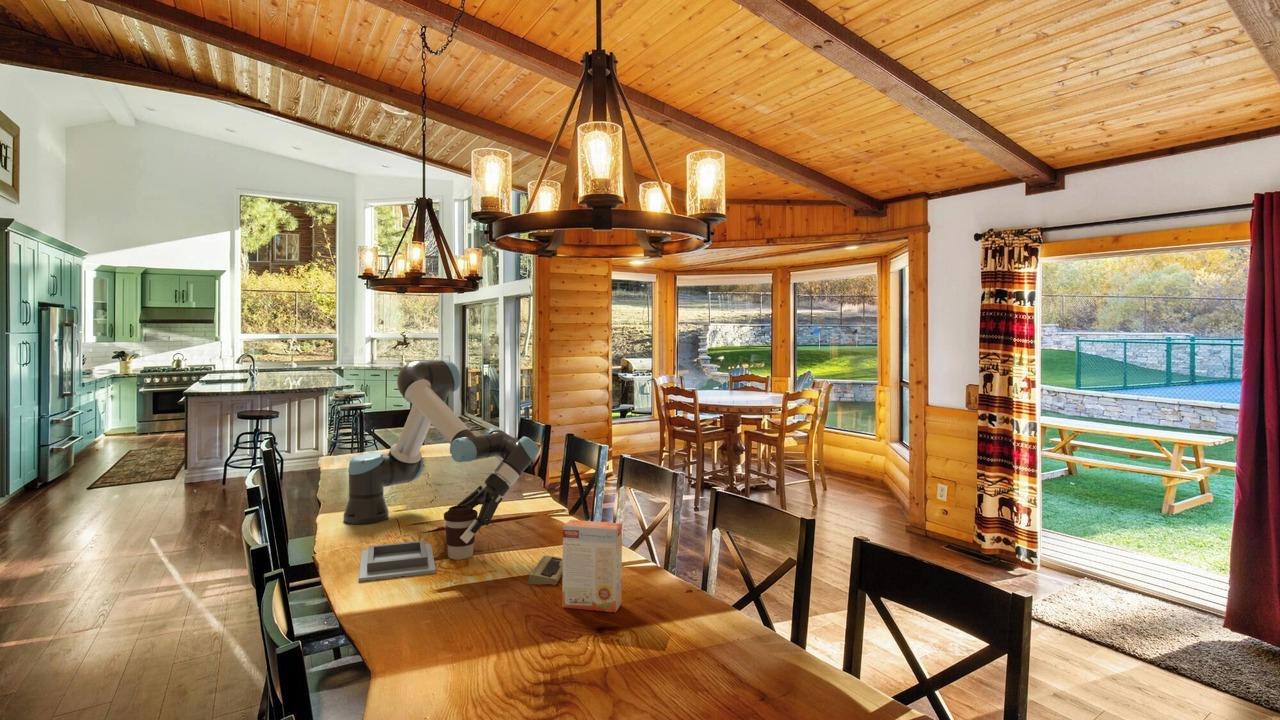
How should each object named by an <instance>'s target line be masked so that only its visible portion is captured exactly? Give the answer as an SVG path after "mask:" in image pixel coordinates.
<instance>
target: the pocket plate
mask: <svg viewBox="0 0 1280 720" xmlns="http://www.w3.org/2000/svg"><path fill="white" fill-rule="evenodd" d="M436 568H437V567H436V565H435V559H434V554H433V548H432V544H431V543H426V540H424V539H423V540H414V541H405V542H393V543H392V542H391V543H384V544H374V545H372V544H371V545H368V549H364V550H361V557H360V565H359V573H358V582H359V581H363V582H366V581H365V580H372V581H377V580H376V579H380V580H387V579H388V578H389V579H394V578H393V577H398V578H402V577H401V576H406V577H414V576H421V575H428V574H429V575H430V574H436V573H437V569H436Z"/></svg>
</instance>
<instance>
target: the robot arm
mask: <svg viewBox="0 0 1280 720" xmlns="http://www.w3.org/2000/svg"><path fill="white" fill-rule="evenodd" d="M396 384H397V388H398V391H399V393H400V394H401V396H402V397H403V399H404V400H405V401H406V402H408V403H409V404H412V406H411V409H410V412H409V414H408V415H407V419H406V421H405V423H404V426H403V429H402V431H401V433H400V436H399V439H398V440H397V443H394V444H392V445H391V447H390V449H389V451H388V453H387V454H383V453H382V452H379V451H378V452H374V451H373V452H367V453H366V452H364V453H361V454H357V455H356V456H354V457H351V459H350V460H349V463H348V470H347V471H348V501H347V504H346V507H345V509H344V512H343V522H344V521H345V522H344V523H346V522H347V524H349V523H352V524H351V525H367V524H368V523H369V524H375V523H380V522H382V520H383V521H385V520H387V519H389V517H388V516H389V512H390V511H389V508H388V505H387V502H386V500H385V497H384V496H385V495H384V488H385V487H390V486H391V487H392V486H395V485H401V484H406V483H410V482H413V481H415V480H417V479H418V478H419V477H421V475H422V473H423V470H424V458H423V457H422V452H421V449H422V446H423V444H424V441H425V440H426V437H427V435H428V432H429V430H430V427H431V425H432V426H433V427H434V428H435V429H436V431H438V433H439V434H440V435H441V436H442V437H443V438H444V439H445V440H446V441H447V443H448V444H449V445H450V446H449V453H450V454H451V455H450V456H451V458H452V459H453V461H455V462H457V463H467V462H468V463H470V462H472V461H477V460H482V459H488V458H493V457H499V458H500V459H502V461H500V462H499V463H498V464H497V466H496V467H495V469H493V472H492V473H490V474H489V475H488V477H487V478H485V480H484V484H485V485H486V486H484V487H483V485H479V486H478V487H477V488H476V489H475V490H473V492H471V493H470V494H469V495H468V496H466V497H465V498H464V499H463V500H461V501H460V502H459V503H458V504H457V505H469V506H472V508H473V509H474V508H475V507H477V506H479V505H480V506H481V508H480V509H479V513H478V516H477V518H475V520H474V521H473V523H472V524H471V525H470V526H469V527H468V529H467V530H466V531H465V532H464V533H463V535H462V536H461V537H460V538H461V539H462V540H463V541H464V542H465V543H468V542H469V541H470V540H471V538H472V537H473V536H474V535H475V536H476V533H477V532H478V531H479V530H480V529H481V528H482V526H483V527H484V526H488V525H490V523H491V520H492V519H493V517H494V514H495V513H496V510H497V508H498V507H499V504H500V503H501V502H502V500H503V497H504V496H505V494H506V493H508V491H509V490H510V487H512V486H513V485H514V484H515V483H516V482H517V481H518V479H519V477H521V475H522V474H523V472H524V471H525V470H526V469H527V468H528V467H529V466H530V465H531V463H532V462H534V461H535V458H536V457H537V455H538V454H539V453H540V447H539V445H538V444H537V443H536V442H535V441H534V440H533V439H531V438H530V437H528V436H522V437H521V438H520V439H519V440H518V439H516V438H514V437H513V436H512V435H510V434H508V433H506V432H505V431H504V430H502V429H498V428H496V427H491V428H489V429H488V430H486V431H485V432H484V434H481V435H475V433H473V431H472V430H470V428H469V427H468V426H467V425H466V424H465V423H464V422H463V421H462V420H461V419H460V418H459V417H458V416H457V414H456V413H455V412H454V411H453V410H452V409H451V408H450V406H448V404H447V403H446V400H447V398H448V396H449V394H450V393H454V392H457V391H458V389H459V387H460V384H461V375H460V371H459V369H458V366H456V364H455V363H454V362H452V361H450V360H443V359H440V360H424V361H423V360H421V361H420V360H415V361H410V362H408V363H407V364H405V365H403V367H402V368H401V369H400V370H399V372H398V376H397V383H396ZM386 518H387V519H386ZM379 521H380V522H379ZM366 523H367V524H366ZM369 524H368V525H369ZM443 528H445V529H446V523H445V524H444V526H443Z"/></svg>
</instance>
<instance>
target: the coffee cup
mask: <svg viewBox="0 0 1280 720" xmlns="http://www.w3.org/2000/svg"><path fill="white" fill-rule="evenodd" d="M478 516H479V513H478V511H477V510H476V509H474V508H472V506H469V505H458V504H457V505H453V506H450V507H449V509H448V511H445V512H444V513H443V520H444V521H445V524H446V528H445V537H446V538H445V542H446V545H447V556H448V558H449V559H451V560H456V561H457V560H458V561H460V560H462V561H463V560H466V559H469V558H472V556H473V555H474V543H475V541H476V539H475V537H476V534H475V535H474V536H473V537H472V538H471V540H470V541H469V542H468V543H465V542H464V541H463V540H462V539H461V538H460V537H461V536H462V535H463V533H464V532H465V531H466V530H467V529H468V527H469V526H470V525H471V524H472V523H473V521H474V520H475V518H478Z"/></svg>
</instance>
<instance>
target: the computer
mask: <svg viewBox="0 0 1280 720" xmlns="http://www.w3.org/2000/svg"><path fill="white" fill-rule="evenodd" d="M561 575H562V576H563V557H558V556H554V555H543V556H542V557H541V558H540V560H539V561H538V562H537V564H535V567H534V568H533V570H532V571H531V573H530V574H529V576H528V581H527V583H528V585H541V584H555V585H554V586H557V585H556V584H558V583H559V581H560V579H561V578H562V576H561ZM557 582H558V583H557Z"/></svg>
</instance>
